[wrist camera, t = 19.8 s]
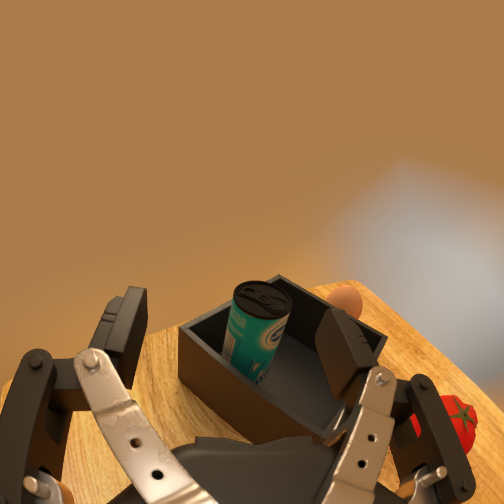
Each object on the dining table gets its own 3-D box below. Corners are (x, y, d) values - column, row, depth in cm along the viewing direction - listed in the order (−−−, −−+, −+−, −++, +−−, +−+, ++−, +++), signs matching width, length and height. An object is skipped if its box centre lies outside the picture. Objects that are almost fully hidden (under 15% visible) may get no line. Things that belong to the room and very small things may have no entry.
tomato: (406, 495, 19) (461, 465, 14) (376, 434, 29) (418, 394, 24) (456, 461, 22) (502, 425, 17) (427, 412, 32) (465, 371, 27)
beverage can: (240, 409, 30) (269, 326, 23) (207, 381, 33) (220, 292, 26) (269, 385, 34) (303, 300, 28) (237, 360, 37) (259, 274, 31)
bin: (177, 377, 33) (178, 326, 29) (265, 320, 48) (278, 274, 43) (292, 471, 24) (327, 441, 19) (358, 380, 38) (388, 336, 34)
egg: (312, 311, 53) (326, 276, 49) (342, 311, 55) (358, 277, 51) (326, 337, 46) (343, 300, 43) (358, 335, 48) (376, 300, 44)
